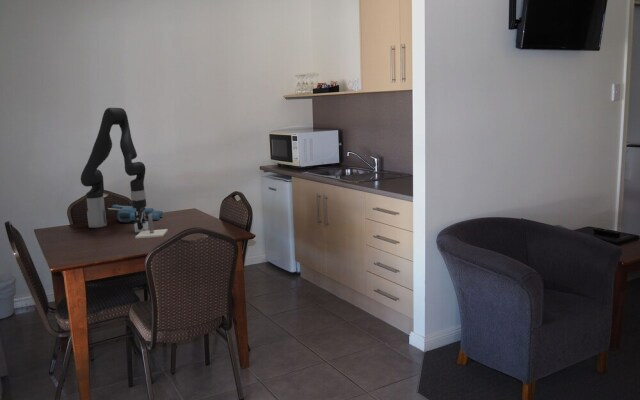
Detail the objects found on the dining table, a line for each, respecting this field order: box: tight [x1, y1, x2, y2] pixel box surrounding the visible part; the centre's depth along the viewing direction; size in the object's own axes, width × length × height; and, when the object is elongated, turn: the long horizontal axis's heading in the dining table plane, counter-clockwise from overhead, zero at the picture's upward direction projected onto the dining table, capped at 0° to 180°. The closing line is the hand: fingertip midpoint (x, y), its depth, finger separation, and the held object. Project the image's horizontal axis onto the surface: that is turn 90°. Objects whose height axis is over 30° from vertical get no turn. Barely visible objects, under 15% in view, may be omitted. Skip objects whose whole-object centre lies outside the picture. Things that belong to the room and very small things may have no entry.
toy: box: [107, 204, 164, 223], centre depth 344 cm, size 22×9×30 cm
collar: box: [133, 220, 150, 233], centre depth 312 cm, size 6×6×4 cm
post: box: [135, 214, 169, 239], centre depth 300 cm, size 14×14×11 cm
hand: (141, 227), depth 312 cm, fingers open, 7 cm apart
